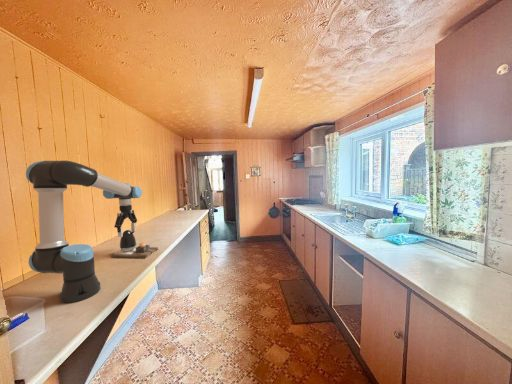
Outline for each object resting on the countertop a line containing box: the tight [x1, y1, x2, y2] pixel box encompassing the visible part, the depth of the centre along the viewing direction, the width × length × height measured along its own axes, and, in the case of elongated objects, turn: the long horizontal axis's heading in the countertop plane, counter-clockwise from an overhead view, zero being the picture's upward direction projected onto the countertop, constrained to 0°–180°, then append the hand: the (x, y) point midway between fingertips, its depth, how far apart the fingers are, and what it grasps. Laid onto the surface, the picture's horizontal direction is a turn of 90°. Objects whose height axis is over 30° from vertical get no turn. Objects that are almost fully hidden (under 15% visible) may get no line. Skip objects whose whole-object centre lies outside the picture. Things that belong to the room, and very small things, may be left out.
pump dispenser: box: [119, 229, 137, 252], centre depth 151 cm, size 10×10×15 cm
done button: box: [138, 242, 147, 248], centre depth 150 cm, size 4×4×3 cm
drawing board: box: [110, 244, 159, 259], centre depth 151 cm, size 16×25×6 cm, turn 85°
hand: (127, 234), depth 150 cm, fingers open, 13 cm apart
